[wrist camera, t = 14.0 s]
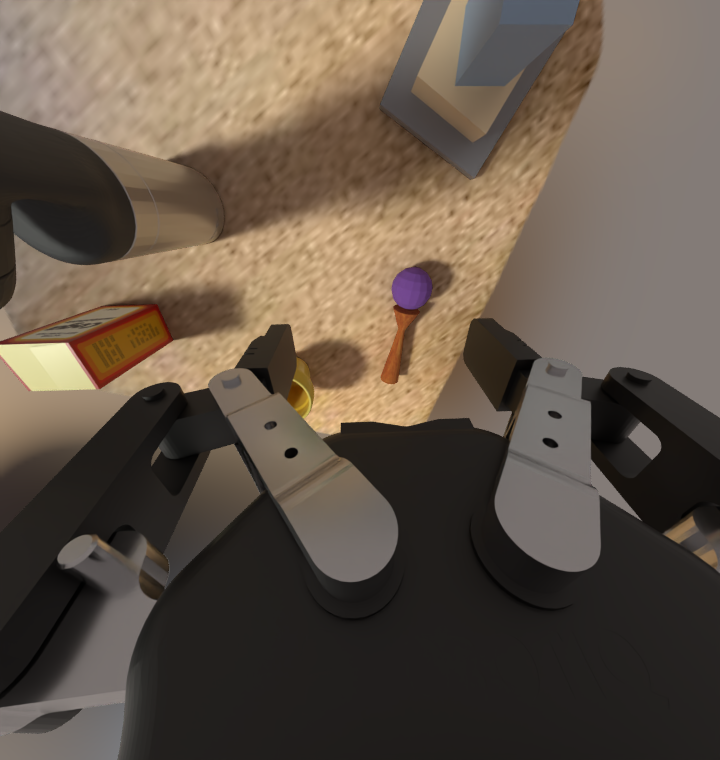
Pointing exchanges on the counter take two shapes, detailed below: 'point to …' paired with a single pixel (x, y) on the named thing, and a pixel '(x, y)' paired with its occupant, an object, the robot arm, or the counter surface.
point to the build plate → (430, 120)
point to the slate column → (508, 37)
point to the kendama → (405, 313)
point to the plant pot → (301, 390)
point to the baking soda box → (86, 347)
